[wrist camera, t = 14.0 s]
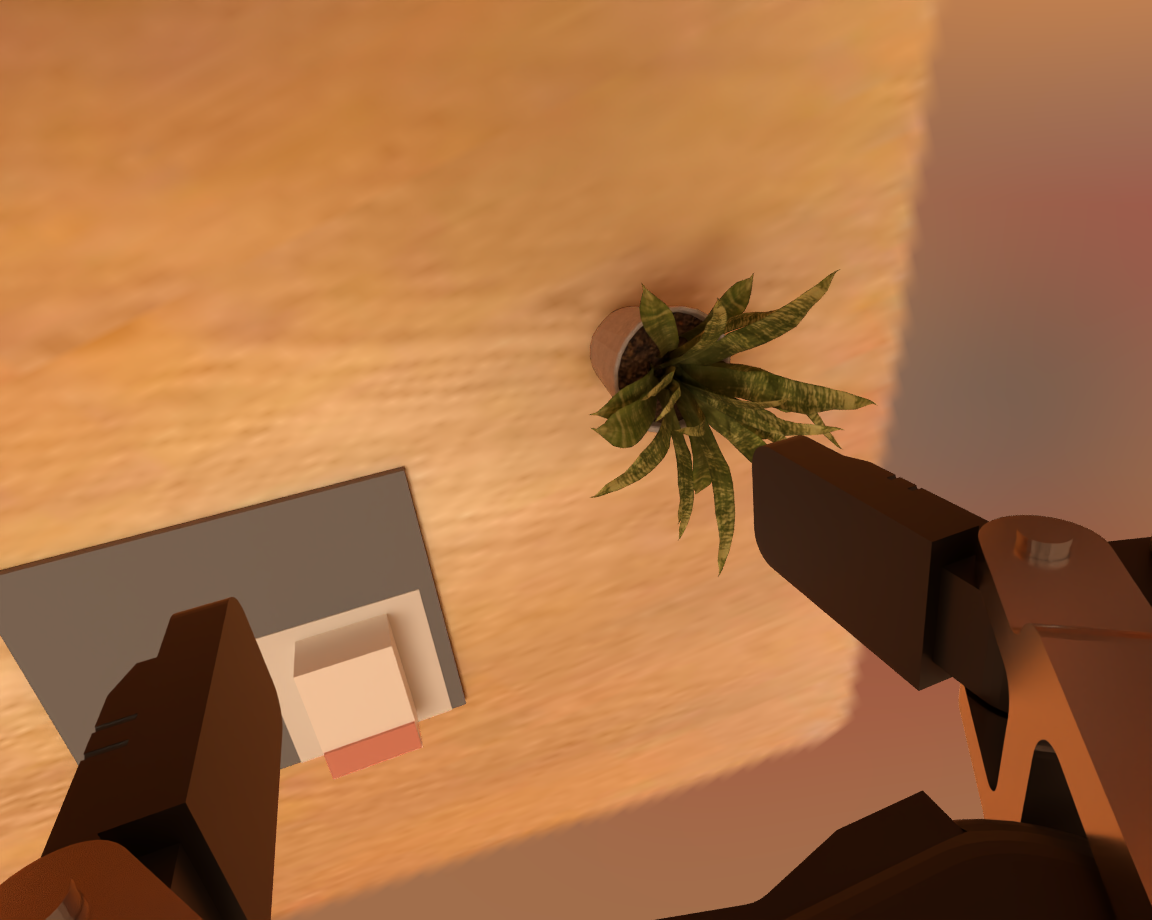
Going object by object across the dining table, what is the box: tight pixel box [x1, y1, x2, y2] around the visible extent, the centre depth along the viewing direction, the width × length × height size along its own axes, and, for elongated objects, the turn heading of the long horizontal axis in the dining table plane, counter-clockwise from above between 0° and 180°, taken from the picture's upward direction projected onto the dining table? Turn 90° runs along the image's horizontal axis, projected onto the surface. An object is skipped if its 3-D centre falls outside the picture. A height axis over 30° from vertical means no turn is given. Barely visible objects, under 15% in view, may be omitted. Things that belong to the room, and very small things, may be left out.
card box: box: [293, 614, 423, 779], centre depth 42 cm, size 8×6×4 cm
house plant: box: [590, 269, 876, 575], centre depth 36 cm, size 14×14×16 cm
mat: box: [0, 467, 466, 769], centre depth 41 cm, size 22×18×1 cm
